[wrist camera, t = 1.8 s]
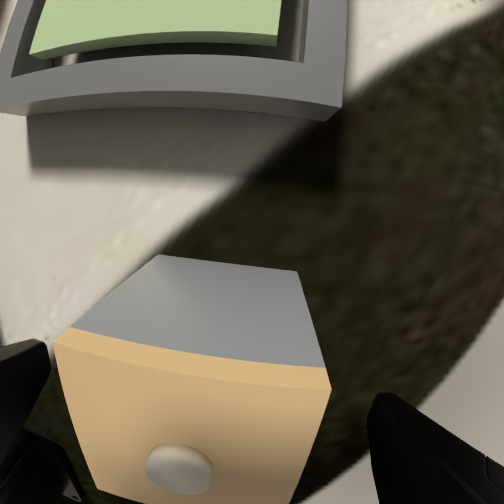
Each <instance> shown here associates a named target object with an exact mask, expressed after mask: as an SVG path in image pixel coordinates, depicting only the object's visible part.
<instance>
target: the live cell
mask: <svg viewBox="0 0 504 504" xmlns="http://www.w3.org/2000/svg"><path fill="white" fill-rule="evenodd" d="M53 347H54V352H55V357H56V361H57V366H58V370H59V375H60V379H61V383H62V387H63V391H64V395H65V398H66V402H67V406H68V409H69V412H70V416H71V419H72V422H73V425H74V429H75V432H76V435H77V438H78V440H79V443H80V446H81V449H82V452H83V454H84V457H85V460H86V462H87V465H88V467H89V470H90V472H91V475H92V477H93V480H94V482H95V484H96V486H97V489H100V490H102V491H105V492H108V493H111V494H114V495H117V496H121V497H124V498H127V499H130V500H134V501H137V502H141V503H145V504H289V502H290V500H291V498H292V496H293V493H294V491H295V489H296V486H297V484H298V481H299V479H300V476H301V474H302V472H303V469H304V466H305V464H306V461H307V459H308V456H309V454H310V451H311V448H312V445H313V443H314V440H315V437H316V434H317V432H318V429H319V426H320V423H321V420H322V417H323V414H324V411H325V408H326V405H327V402H328V399H329V396H330V393H331V386H330V382H329V379H328V375H327V372H326V368H325V364H324V361H323V357H322V354H321V350H320V347H319V344H318V340H317V337H316V333H315V330H314V326H313V323H312V320H311V316H310V313H309V310H308V306H307V303H306V300H305V296H304V293H303V290H302V287H301V283H300V280H299V277H298V274H297V272H296V271H287V270H279V269H270V268H262V267H254V266H245V265H237V264H229V263H221V262H213V261H205V260H197V259H189V258H181V257H173V256H165V255H157V256H156V257H154V258H153V259H152V260H151V261H149V262H148V263H147V264H146V265H144V266H143V267H142V268H141V269H139V270H138V271H137V272H136V273H134V274H133V275H132V276H131V277H129V278H128V279H127V280H126V281H124V282H123V283H122V284H121V285H119V286H118V287H117V288H116V289H114V290H113V291H112V292H111V293H110V294H108V295H107V296H106V297H105V298H104V299H102V300H101V301H100V302H99V303H98V304H96V305H95V306H94V307H93V308H92V309H90V310H89V311H88V312H87V313H86V314H84V315H83V316H82V317H81V318H80V319H79V320H77V321H76V322H75V323H74V324H73V325H72V326H70V327H69V328H68V329H67V330H66V331H65V332H63V333H62V334H61V335H60V336H59V337H58V338H57V339H55V340H54V341H53Z"/></svg>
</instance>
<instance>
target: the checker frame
mask: <svg viewBox="0 0 504 504" xmlns="http://www.w3.org/2000/svg"><path fill="white" fill-rule="evenodd" d="M45 2H46V0H18V2H17V4H16V7H15V10H14V12H13V15H12V18H11V21H10V24H9V26H8V29H7V33H6V36H5V39H4V42H3V46H2V49H1V53H0V113H7V114H14V115H21V116H31V115H38V114H46V113H54V112H64V111H75V110H87V109H103V108H127V107H181V108H206V109H222V110H236V111H247V112H257V113H266V114H275V115H283V116H290V117H298V118H304V119H311V120H317V121H323V122H325V121H327V120H328V119H329V118H330V117H331V116H332V115H333V114H335V113H336V112H337V111H338V110H339V109H341V108H342V97H343V84H344V69H345V52H346V31H347V0H304V3H303V15H302V26H301V37H300V47H299V58H298V62H293V61H285V60H277V59H268V58H258V57H245V56H230V55H197V54H184V55H151V56H136V57H124V58H114V59H105V60H97V61H90V62H83V63H77V64H71V65H65V66H60V67H55V68H52V64H53V59H54V58H50V59H45V60H41V59H39V58H37V57H34V56H32V55H29V53H30V49H31V45H32V42H33V38H34V35H35V32H36V29H37V25H38V22H39V19H40V16H41V13H42V11H43V8H44V5H45Z"/></svg>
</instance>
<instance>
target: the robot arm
mask: <svg viewBox="0 0 504 504" xmlns="http://www.w3.org/2000/svg"><path fill="white" fill-rule="evenodd" d="M50 372H51V364H50V359H49V354H48V350H47V346H46V344H45V343H44V342H43V341H40V340H37V339H29V340H26V341H22V342H18V343H14V344H10V345H6V346H2V347H0V504H58V502H59V500H60V499H61V497H62V495H64V496H67V497H69V498H71V499H74V500H76V501H79V502H81V501H82V500H83V498H84V497H83V495H82V493H81V491H80V489H79V487H78V485H77V483H76V481H75V479H74V477H73V475H72V473H71V471H70V469H69V467H68V464H67V462H66V460H65V458H64V455H63V453H62V451H61V449H60V448H59V447H58V446H57V445H55V444H54V443H52V442H49V441H47V440H45V439H43V438H41V437H39V436H36V435H34V434H32V433H30V432H28V431H26V430H24V429H22V426H23V425H24V423H25V421H26V420H27V418H28V416H29V415H30V413H31V411H32V409H33V407H34V405H35V403H36V401H37V399H38V397H39V395H40V393H41V391H42V389H43V387H44V385H45V383H46V381H47V379H48V377H49V375H50ZM367 431H368V439H369V448H370V457H371V466H372V472H373V477H374V481H375V486H376V490H377V495H378V499H379V504H504V467H503V466H502V465H500V464H498V463H497V462H495V461H494V460H492V459H490V458H489V457H488V456H486V457H485V455H484V454H483V453H481V452H480V451H478V450H477V449H475V448H473V447H472V446H470V445H469V444H467V443H466V442H464V441H463V440H461V439H460V438H458V437H457V436H455V435H454V434H452V433H451V432H449V431H448V430H446V429H445V428H443V427H442V426H440V425H439V424H437V423H436V422H434V421H433V420H431V419H430V418H428V417H427V416H426V415H424V414H422V413H421V412H420V411H418V410H417V409H415V408H414V407H412V406H411V405H410V404H408V403H407V402H405V401H404V400H402V399H401V398H399V397H398V396H397V395H395V394H394V393H379V394H377V395H376V397H375V399H374V402H373V404H372V407H371V409H370V411H369V414H368V416H367Z"/></svg>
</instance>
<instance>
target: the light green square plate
mask: <svg viewBox="0 0 504 504" xmlns="http://www.w3.org/2000/svg"><path fill="white" fill-rule="evenodd" d="M281 2H282V0H46V2H45V5H44V8H43V11H42V13H41V16H40V19H39V22H38V25H37V29H36V32H35V35H34V38H33V42H32V45H31V49H30V53H29V55H32V56H34V57H37V58H39V59H41V60H45V59H50V58H54V57H59V56H64V55H69V54H74V53H79V52H85V51H91V50H98V49H105V48H113V47H121V46H131V45H143V44H158V43H187V42H206V43H235V44H250V45H262V46H272V47H276V45H277V37H278V28H279V20H280V11H281Z"/></svg>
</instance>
